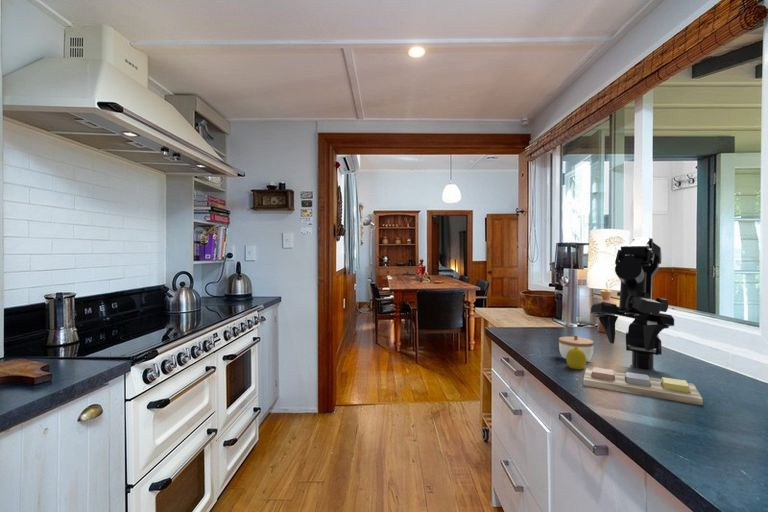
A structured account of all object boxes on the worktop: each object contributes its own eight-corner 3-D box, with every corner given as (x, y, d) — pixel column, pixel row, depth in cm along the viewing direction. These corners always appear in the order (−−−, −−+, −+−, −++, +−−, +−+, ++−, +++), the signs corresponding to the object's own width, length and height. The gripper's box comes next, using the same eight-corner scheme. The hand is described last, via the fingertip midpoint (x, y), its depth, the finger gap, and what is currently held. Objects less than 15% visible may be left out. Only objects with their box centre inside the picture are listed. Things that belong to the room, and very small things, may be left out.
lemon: (588, 375, 113) (588, 349, 113) (569, 374, 114) (569, 348, 114) (582, 370, 118) (582, 345, 118) (564, 368, 119) (564, 344, 119)
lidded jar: (570, 356, 134) (570, 330, 134) (600, 364, 125) (600, 336, 125) (551, 360, 129) (552, 333, 129) (581, 368, 119) (581, 340, 119)
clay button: (593, 377, 106) (593, 367, 106) (613, 380, 104) (613, 370, 104) (592, 382, 102) (592, 371, 102) (613, 385, 100) (613, 374, 100)
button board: (585, 377, 110) (586, 367, 110) (693, 395, 97) (693, 383, 97) (583, 390, 100) (583, 379, 100) (702, 411, 87) (702, 398, 87)
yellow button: (661, 388, 98) (661, 377, 98) (685, 392, 95) (685, 380, 95) (664, 394, 94) (664, 382, 94) (689, 398, 91) (689, 386, 91)
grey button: (626, 382, 102) (626, 371, 102) (648, 386, 100) (648, 375, 100) (626, 388, 98) (626, 376, 98) (649, 391, 95) (649, 380, 95)
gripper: (615, 277, 92) (611, 339, 89) (691, 292, 91) (690, 355, 88) (592, 284, 103) (587, 339, 100) (659, 297, 102) (657, 354, 99)
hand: (629, 347), depth 96 cm, fingers open, 9 cm apart
